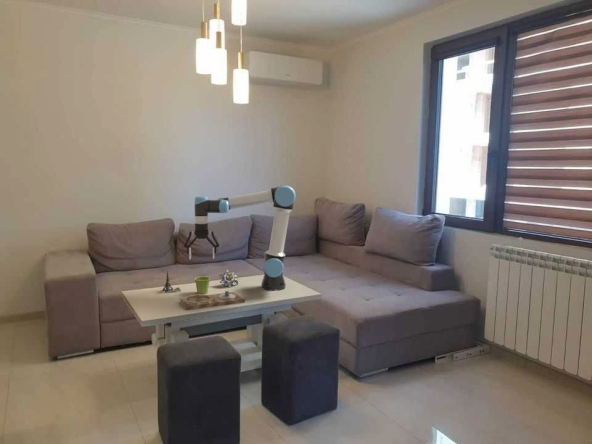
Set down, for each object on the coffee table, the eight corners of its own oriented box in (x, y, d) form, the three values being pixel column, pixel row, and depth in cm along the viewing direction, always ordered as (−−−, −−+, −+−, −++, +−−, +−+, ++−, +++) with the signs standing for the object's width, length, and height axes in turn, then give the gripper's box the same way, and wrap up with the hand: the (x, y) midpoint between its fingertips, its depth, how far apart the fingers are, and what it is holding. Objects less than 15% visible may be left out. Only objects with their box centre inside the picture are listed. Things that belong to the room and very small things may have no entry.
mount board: (234, 295, 269) (234, 286, 268) (244, 302, 255) (244, 293, 254) (179, 302, 253) (179, 293, 253) (187, 310, 240) (187, 300, 239)
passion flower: (229, 295, 288) (220, 282, 281) (222, 288, 296) (213, 275, 290) (243, 284, 291) (234, 271, 284) (236, 277, 299) (228, 264, 293)
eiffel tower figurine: (155, 294, 269) (155, 272, 267) (153, 290, 278) (153, 268, 277) (181, 292, 275) (181, 270, 273) (178, 288, 284) (178, 267, 283)
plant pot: (206, 295, 268) (206, 280, 267) (191, 294, 269) (191, 279, 268) (212, 291, 277) (212, 277, 276) (198, 290, 279) (198, 276, 278)
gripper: (223, 222, 273) (223, 257, 276) (180, 222, 270) (181, 257, 273) (222, 223, 266) (223, 259, 268) (178, 223, 263) (179, 260, 265)
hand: (201, 258), depth 270 cm, fingers open, 13 cm apart
